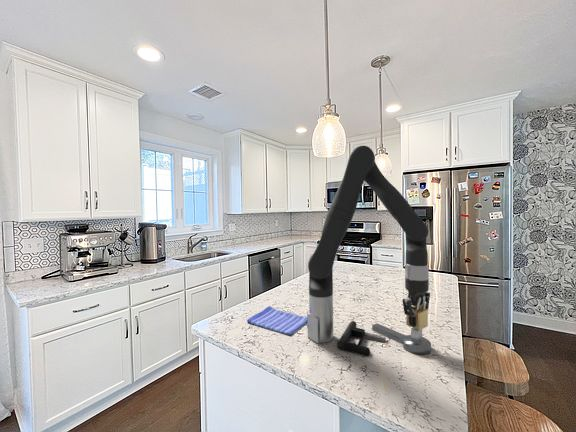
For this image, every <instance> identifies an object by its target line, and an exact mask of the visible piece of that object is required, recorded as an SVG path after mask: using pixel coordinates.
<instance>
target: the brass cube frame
mask: <svg viewBox="0 0 576 432" xmlns="http://www.w3.org/2000/svg"><path fill="white" fill-rule="evenodd" d="M412 307H416V306H413V305H412ZM428 310H429V308H428V309H425V308H422V307H419V309H418V310H417V312H416V316H415V317H416V327H412V326H410V325H409V315H406V314H405V315H406V317H405V318H406V321H405V322H406V323H405V324H406V326H408V327H411V328H416V329H418V330H421V329H422V330H423V329H425V328H427V327H428V326H429V324H428V323H429V316H428V315H429V313H428V312H429V311H428ZM407 311H408V310H407ZM412 311H414V310H413V309H412Z"/></svg>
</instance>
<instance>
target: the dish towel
mask: <svg viewBox="0 0 576 432" xmlns="http://www.w3.org/2000/svg"><path fill="white" fill-rule="evenodd" d="M246 321H247V323H248V324H251V325H254V326H257V327H259V328H263V329H267V330H269V331H273V332H276V333H279V334H284V335H289V336H292V335H294V334H295V333H296V332H298V331H299V330H300V329H302V328H303V327H304V326H305V325H306V324H307V316H302V315H300V314H299V315H298V314H296V313H295V314H294V313H291V312H288V311H283V310H280V309H276V308H274V307H272V306H271V305H270V306H267V307H265V308H264V309H263V310H262V311H259V312H258V313H256V314H254V315H252V316H250V317H249V318H247V319H246Z"/></svg>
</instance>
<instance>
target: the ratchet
mask: <svg viewBox="0 0 576 432" xmlns="http://www.w3.org/2000/svg"><path fill="white" fill-rule="evenodd" d="M371 330H372V331H374V332H375V333H377V334H380V335H382V336H383V337H386V338H388V339H391V340H392V341H395V342H396V343H399V344H401V345H402V347H403V349H404V350H406V351H407V352H408V353H410V354H413V355H419V356H426V355H429V354H431V352H432V343H431V341H430V340H429V339H428V338H425V337H423V329H421V330H418V329H416V328H413V327H411V329H410V334H407V335H405V334H404V333H401V332H399V331H396V330H393V328H389V327H388V326H384V325H382V324H380V323H375V324H372V325H371Z"/></svg>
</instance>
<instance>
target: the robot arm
mask: <svg viewBox="0 0 576 432" xmlns="http://www.w3.org/2000/svg"><path fill="white" fill-rule="evenodd" d="M364 182H365V183H366V184H367V185H368V186H369V188H370V189H371V190H372V191H373V192H374V194H375V195H376V196H377V197H378V200H379V201H380V202H381V203H382V204H383V207H385V209H386V210H387V211H388V213H389V214H390V215H391V216H392V218H393V219H394V220H396V222H397V223H398V225H399V226H400V228H401V229H402V230H403V232H404V234H405V246H406V250H405V267H404V288H405V289H406V291H407V292H408V294H407V298H405V297H403V298H402V306H403V312H404V313H403V314H404V315H409V325H410V326H412V327H411V328H413V327H416V317H415V316H416V312H417V310H418V309H419V307H422V308H425V309H428V310H429V308H430V307H429V305H430V298H431V293H430V292H429V289H430V288H429V287H430V285H429V284H430V281H429V280H430V277H429V275H430V274H429V265H428V264H429V262H428V261H429V260H428V258H429V257H428V255H429V254H428V249H427V237H428V236H429V227H428V225H427V224H426V223H425V222H424V220H422V218H421V217H420V216H419V215H418V214H417V213H416V211H414V209H413V208H412V206H411V205H410V203H409V201H408V200H406V198H405V196H403V194H402V193H401V192H400V191H399V190H398V189H397V188H396V187H395V186H394V185H393V184H392V183H391V182H390V181H389V180H388V179H387V177H385V175H383V173H382V171H380V168H379V166H378V165H377V162H376V157H375V152H374V151H373V149H372V148H371V147H369V146H367V145H358V146H356V147H355V148H354V149H353V150H352V151H351V152H350V153H349V155H348V159H347V164H346V167H345V171H344V174H343V177H342V180H341V182H340V185H339V187H338V188H337V191H336V192H335V195H334V197H333V198H332V202H331V203H330V206H329V209H328V211H327V214H326V216H325V220H324V223H323V226H322V231H321V235H320V239H319V240H318V244H317V246H316V248H315V250H314V252H313V253H312V254H311V256H310V257H309V260H308V263H307V269H308V275H309V279H308V281H309V282H308V309H309V310H308V313H306V315H307V316H306V317H307V323H306V324H307V325H306V326H307V328H306V329H307V338H308V339H310V340H311V341H313V342H314V343H316V344H321V343H329V342H332V341H333V339H334V287H333V286H334V285H333V283H334V280H333V277H334V276H333V270H334V269H333V268H334V263H335V259H336V256H337V253H338V250H339V247H340V245H341V243H342V242H343V239H344V238H345V236H346V234H347V232H348V230H349V227H350V225H351V223H352V220H353V217H354V215H355V213H356V210H357V207H358V202H359V198H360V194H361V189H362V186H363V184H364ZM412 306H416V307H412ZM412 309H413V310H414V311H412ZM407 310H408V311H407ZM410 326H409V327H410Z"/></svg>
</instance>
